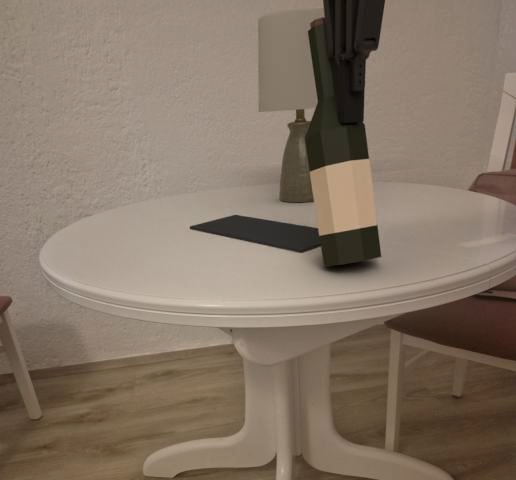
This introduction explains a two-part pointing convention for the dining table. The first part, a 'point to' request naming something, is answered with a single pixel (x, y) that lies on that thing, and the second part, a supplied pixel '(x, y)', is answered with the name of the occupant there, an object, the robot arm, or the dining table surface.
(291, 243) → the mat
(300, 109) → the lamp
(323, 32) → the wine bottle
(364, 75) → the robot arm
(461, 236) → the dining table surface
